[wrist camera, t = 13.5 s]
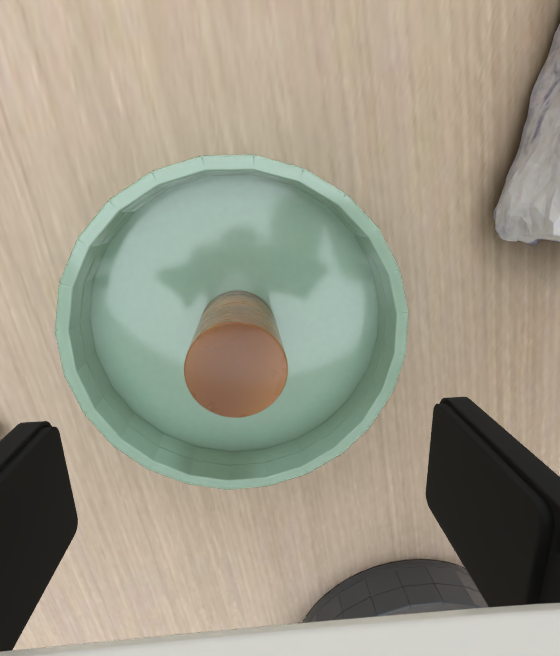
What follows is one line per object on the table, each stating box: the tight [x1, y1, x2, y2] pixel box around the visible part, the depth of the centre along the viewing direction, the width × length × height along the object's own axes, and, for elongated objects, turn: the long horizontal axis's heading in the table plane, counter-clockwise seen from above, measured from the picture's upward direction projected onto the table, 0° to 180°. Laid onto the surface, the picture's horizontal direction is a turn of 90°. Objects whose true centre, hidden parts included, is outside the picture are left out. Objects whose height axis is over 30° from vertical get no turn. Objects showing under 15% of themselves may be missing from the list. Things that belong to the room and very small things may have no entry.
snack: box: [184, 291, 288, 418], centre depth 18 cm, size 4×4×6 cm
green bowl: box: [55, 155, 408, 490], centre depth 20 cm, size 16×16×3 cm
